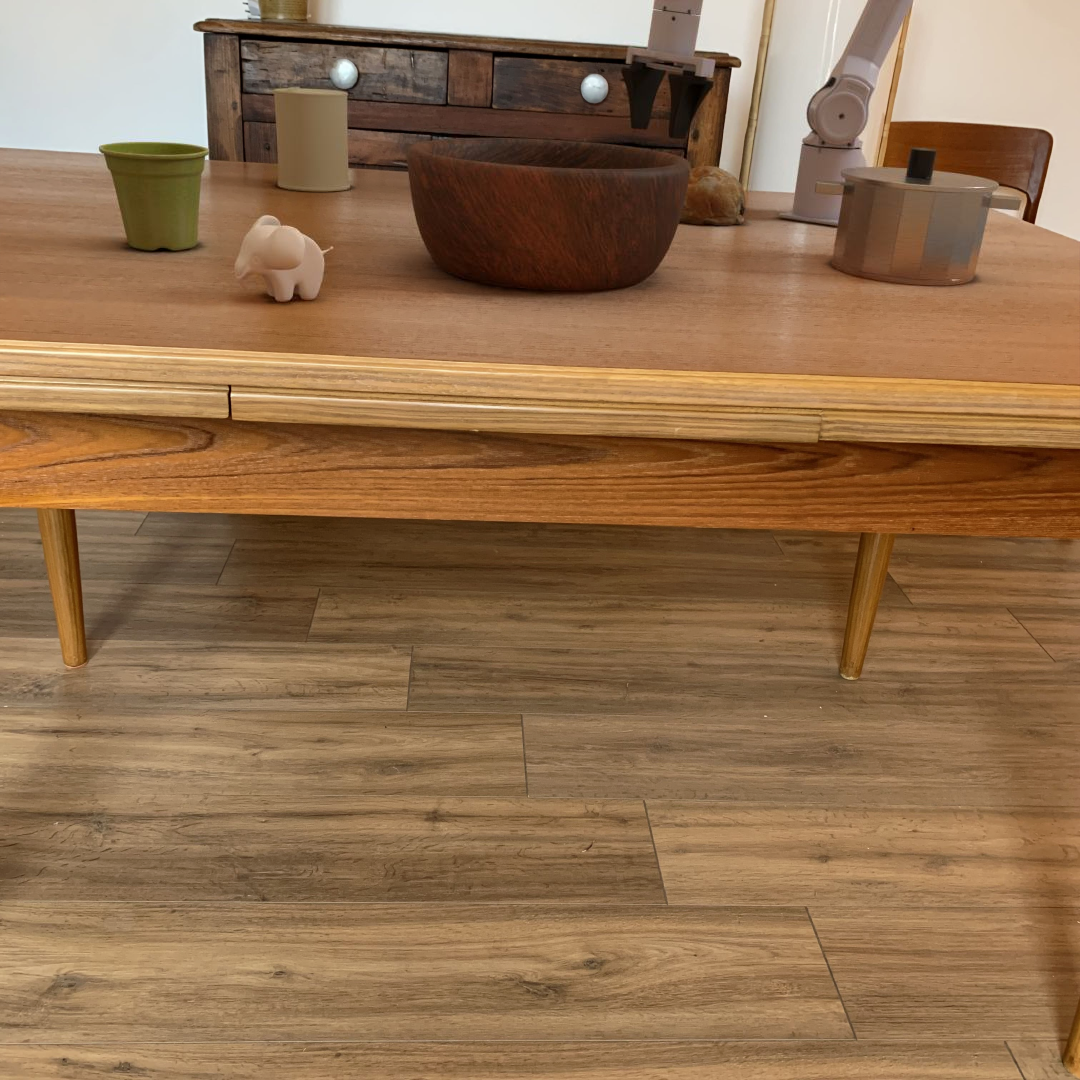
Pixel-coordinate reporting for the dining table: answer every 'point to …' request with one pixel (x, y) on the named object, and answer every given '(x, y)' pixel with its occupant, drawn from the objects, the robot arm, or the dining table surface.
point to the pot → (910, 232)
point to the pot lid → (920, 176)
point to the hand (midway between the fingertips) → (657, 133)
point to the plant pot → (157, 191)
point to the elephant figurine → (280, 260)
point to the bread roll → (713, 198)
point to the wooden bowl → (546, 210)
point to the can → (312, 139)
